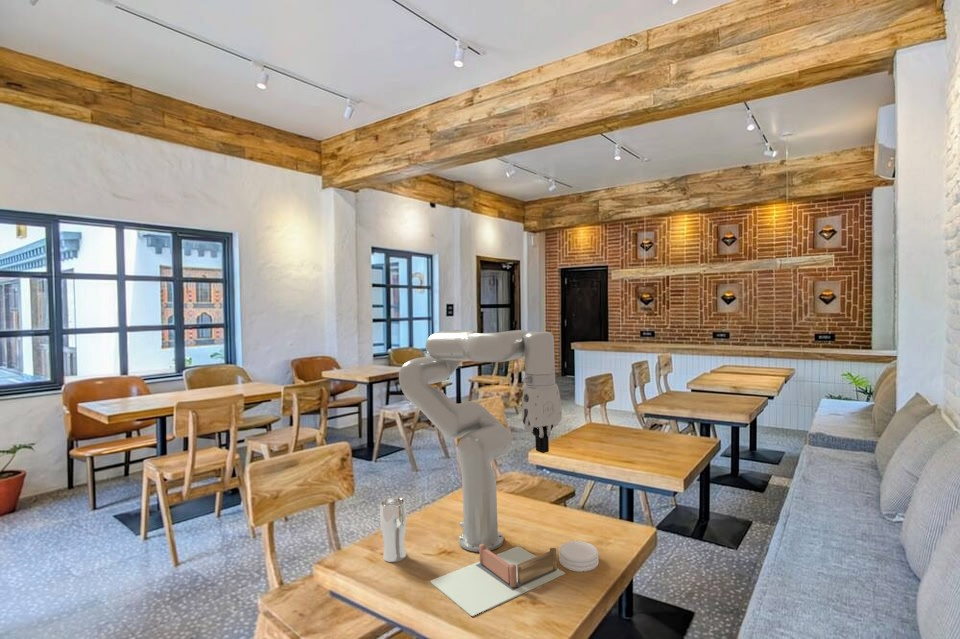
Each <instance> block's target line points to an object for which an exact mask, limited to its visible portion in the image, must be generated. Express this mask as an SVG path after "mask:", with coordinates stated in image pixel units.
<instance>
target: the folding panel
mask: <svg viewBox="0 0 960 639" xmlns="http://www.w3.org/2000/svg"><path fill="white" fill-rule="evenodd" d="M479 549H480V552H479V561H480V564H483V565H484V566H486V567H487V568H488V569H490V570H491V571H492V572H494V573H495V574H496V575H498V576H499V577H500V578H502V579H503V580H504V581H506V582H507V583H508V584H509V583H510V586H511V587H516V586H517V578H516V565H514V564H512V565H509V564H508V563H507V562H505V561H504V560H502V559H501V558H499V557H498V556H496V555H497V554H495V553H493V552H492V550H491V551H489V550H488V549H486V545H485V544H480V545H479Z"/></svg>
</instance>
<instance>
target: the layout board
mask: <svg viewBox="0 0 960 639" xmlns="http://www.w3.org/2000/svg"><path fill="white" fill-rule="evenodd" d="M495 555H496V556H498V557H499V558H501V559H502V560H504V561H505V562H507V563H508V564H509V565H512V564H514V565H516V578H517V586H516V587H511V586H510V583H509V584H508V583H507V582H506V581H504V580H503V579H502V578H500V577H499V576H498V575H496V574H495V573H494V572H492V571H491V570H490V569H488V568H487V567H486V566H484V565H483V564H480V560H479V561H477V562H475V563H472V564H469V565H467V566H464V567H461V568H459V569H457V570H453V571H451V572H449V573H446V574H444V575H441V576H439V577H436V578H433V579H432V580H429V583H430V584H431V585H433V586H434V587H435V588H436V589H438V591H440V592H441V593H442V594H443V595H444V596H446V597H447V598H448V599H449V598H450V599H449V600H451V601H452V603H454V604H455V605H457V607H459V608H460V609H461V610H463V612H465V613H466V614H467V613H468V614H467V615H469V617H471V616H474V617H475V615H476V616H478V615H480V614H482V613H484V611H485V612H487V611H489V610H491V609H493V608H495V607H497V606H500V605H501V604H503V603H506V602H509V601H510V600H512V599H514V598H516V597H519V596H521V595H523V594H525V593H527V592H529V591H532V590H533V589H536V588H538V587H540V586H542V585H544V584H547V583H548V582H551V581H552V580H555V579H557V578H559V577H561V576H564V575H566V573H565V571H563V570H561V569H559V568H557V570H555V571H553V570H551V571H549V572H547V573H544V574H542V575H540V576H538V577H536V578H533V579H531V580H529V581H527V582H525V583H522V584H519V583H518V572H517V565H518V564H520V563H523V562H525V561H527V560H530V559H532V558H534V557H537V556H536V555H535V554H533V553H531V552H529V551H527V550H525V549H524V548H522V547H520V546H518V545H517V546H515V547H512V548H510V549H507V550H505V551H502V552H499V553H497V554H495ZM486 610H487V611H486ZM481 612H482V613H481ZM479 613H480V614H479ZM477 614H478V615H477Z"/></svg>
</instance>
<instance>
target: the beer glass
mask: <svg viewBox="0 0 960 639" xmlns="http://www.w3.org/2000/svg"><path fill="white" fill-rule="evenodd" d="M379 523H380V524H379V525H380V530H381V534H382V535H381V536H382V539H383V555H382V556H383V557H382V558H383V560H384V561H385V562H386V563H387V562H388V563H397V562H400V561H403V560H405V558H406V557H407V551H406V549H405V535H406V528H407V509H406V500H405V499H404V498H402V497H388V498H385V499H382V500H381V501H380V502H379Z"/></svg>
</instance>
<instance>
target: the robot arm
mask: <svg viewBox="0 0 960 639" xmlns="http://www.w3.org/2000/svg"><path fill="white" fill-rule="evenodd" d="M425 351H426V353H427V354H428V355H429V356H423V357H417V358H413V359H410V360H408V361H406V362H405V363H404V364H402V366H400V369H399V373H398V383H399V386H400V390H401V391H402V394H403V395H404V396H405V397H406V399H407V400H408V401H409V402H410V403H411V404H412V405H413V406H414V407H416V408H417V409H418V410H419V411H421V413H423V415H425V417H426V418H427V419H428V420H429V421H430V422H431V423H432V425H433V426H435V427H436V429H437V430H439V431H440V433H441V434H443V435H444V436H445V437H446V438H448V439H451V440H455V439H459V442H458V444H457V455H458V460H459V465H460V470H461V485H462V504H463V505H462V508H463V509H462V510H463V521H460V522H459V526H460V527H461V528H462V533H461V534H460V535H459V537H458V544H459V546H460V547H461V548H463V549H464V550H467V551H470V552H475V553H480V549H479V545H480V544H485V545H486V549H488V550H489V551H491V552H492V551H494V550H496V549H498V548H500V547H501V546H502V545H503V543H504V534H502V533H501V531H499V527H498V526H499V525H498V502H497V500H498V499H497V498H498V497H497V493H498V492H497V479H496V473H495V471H494V469H493V466H492V464H491V462H493V461H495V460H497V459H499V458H501V457H503V456H505V455H506V454H507V453H508V452H510V450H511V447H512V437H511V434H510V432H509V431H508V429H507V428H506V426H504V425H503V424H502V422H500V421H499V420H498V419H497V418H496V417H495V416H494V415H493V414H492V413H491V412H490V411H489V410H487V408H486V407H484V406H483V404H481V403H478V402H476V401H474V400H473V401H470V400H469V401H464V402H461V403H456V402H454V401H453V400H452V399H451V398H449V397H448V396H447V395H446V394H445V393H444V392H443V391H441V390H440V389H438V388H436V387H434V386H432V385H431V384H436V383H441V382H445V381H446V380H447V379H449V378H450V377H451V376H452V375H453V374H454V372H455V371H456V369H458V367H459V366H460V365H461V364H462V362H463V361H470V362H477V363H502V362H504V363H505V362H509V361H514V360H519V359H524V373H525V375H524V376H525V377H523V379H522V382H523V384H525V386H524V387H523V392H522V399H521V400H522V401H521V402H522V403H521V419H522V420H521V421H522V424H523V425H524V428H523V431H525V432H528V433H532V435H533V437H534V438H535V451H537V452H540V453H542V454H545V453H548V452H549V451H550V446H549V445H550V442H549V437H550V436H551V431H552V430H553V428H555V427H557V426H558V425H559V423H560V422H561V421H562V419H563V413H562V403H561V394H560V390H559V386H558V384H557V383H556V368H555V367H556V366H555V363H556V362H555V361H556V359H555V337H554V334H553V333H552V332H550V331H529V330H523V329H516V330H507V331H500V332H484V333H483V332H482V333H481V332H480V333H479V332H477V331H476V330H472V329H469V330H460V329H451V330H441V331H436V332H434V333H432V334H431V335H430V336H429V337H427V339H426V342H425ZM460 438H461V439H460Z"/></svg>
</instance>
